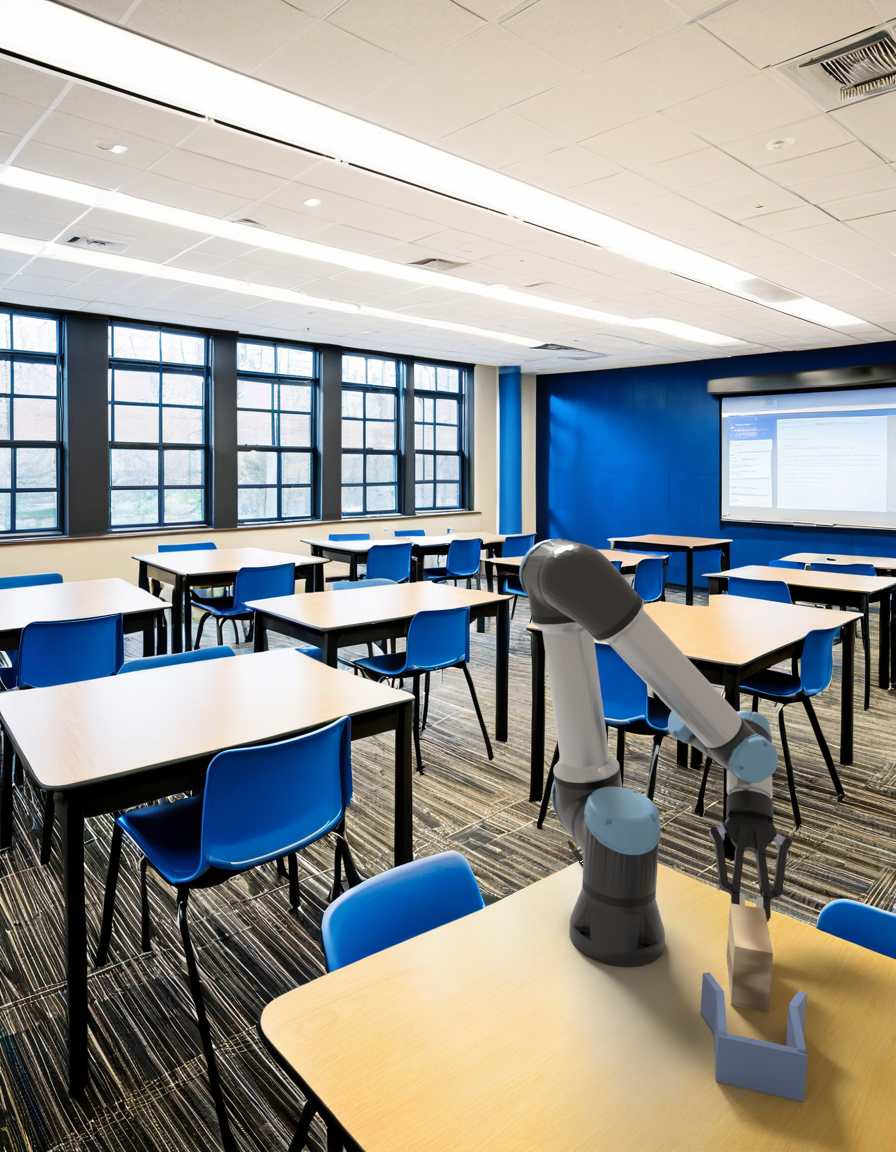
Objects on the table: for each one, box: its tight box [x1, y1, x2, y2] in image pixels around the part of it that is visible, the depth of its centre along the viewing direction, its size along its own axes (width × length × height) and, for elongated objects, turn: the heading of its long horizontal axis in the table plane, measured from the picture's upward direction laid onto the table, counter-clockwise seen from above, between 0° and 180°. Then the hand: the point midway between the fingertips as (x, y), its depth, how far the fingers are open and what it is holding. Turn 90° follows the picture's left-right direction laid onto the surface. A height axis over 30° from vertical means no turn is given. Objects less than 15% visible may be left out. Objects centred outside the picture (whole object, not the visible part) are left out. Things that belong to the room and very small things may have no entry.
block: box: [726, 902, 774, 1013], centre depth 114 cm, size 5×12×9 cm, turn 163°
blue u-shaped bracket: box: [699, 971, 808, 1103], centre depth 99 cm, size 13×13×6 cm
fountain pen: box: [567, 838, 584, 867], centre depth 152 cm, size 14×1×2 cm, turn 8°
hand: (750, 939), depth 121 cm, fingers open, 2 cm apart
